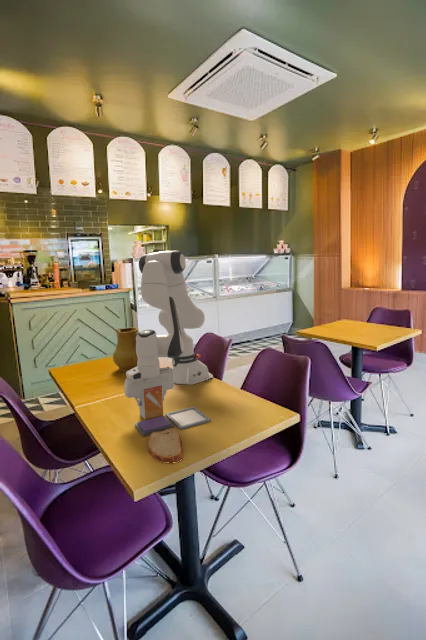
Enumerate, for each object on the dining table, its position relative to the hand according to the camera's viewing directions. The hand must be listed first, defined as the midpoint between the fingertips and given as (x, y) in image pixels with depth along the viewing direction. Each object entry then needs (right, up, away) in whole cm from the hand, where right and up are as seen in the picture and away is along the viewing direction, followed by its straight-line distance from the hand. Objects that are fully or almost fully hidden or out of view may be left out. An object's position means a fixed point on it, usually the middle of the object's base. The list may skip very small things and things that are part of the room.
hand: (151, 403), depth 145 cm
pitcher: (-24, +4, +67) cm, 71 cm away
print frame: (+15, -5, -3) cm, 16 cm away
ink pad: (+3, -7, -10) cm, 12 cm away
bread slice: (+10, -10, -24) cm, 28 cm away
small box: (0, -5, +1) cm, 6 cm away
